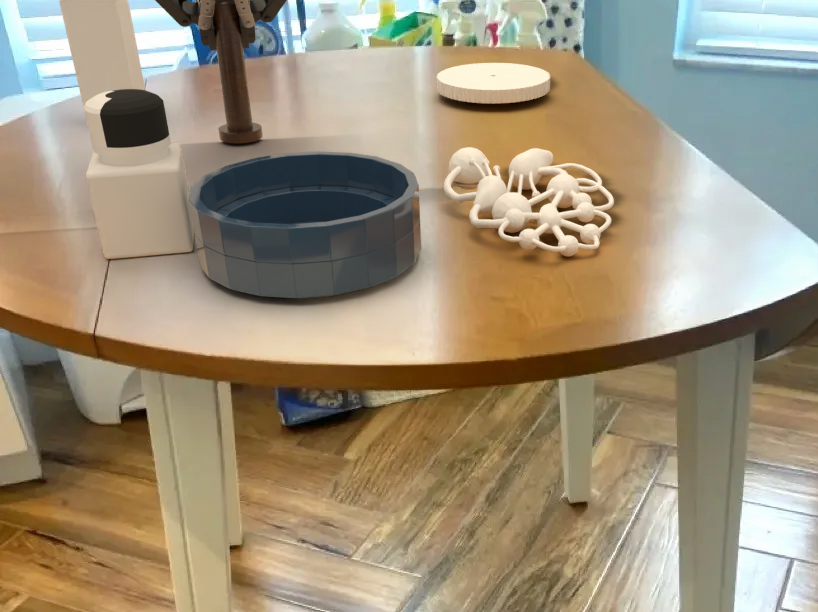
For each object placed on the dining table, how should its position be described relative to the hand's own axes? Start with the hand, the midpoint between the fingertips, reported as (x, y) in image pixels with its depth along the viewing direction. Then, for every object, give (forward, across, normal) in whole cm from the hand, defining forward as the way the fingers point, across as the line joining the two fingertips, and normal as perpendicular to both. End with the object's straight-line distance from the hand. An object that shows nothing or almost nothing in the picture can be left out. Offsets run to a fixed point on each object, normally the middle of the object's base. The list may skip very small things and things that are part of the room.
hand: (228, 41), depth 96 cm
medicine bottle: (-9, +9, +25) cm, 28 cm away
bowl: (-15, -4, +30) cm, 33 cm away
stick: (+5, 0, +8) cm, 9 cm away
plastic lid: (+17, -32, -2) cm, 36 cm away
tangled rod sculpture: (-12, -24, +27) cm, 38 cm away
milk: (+19, +13, -4) cm, 24 cm away
